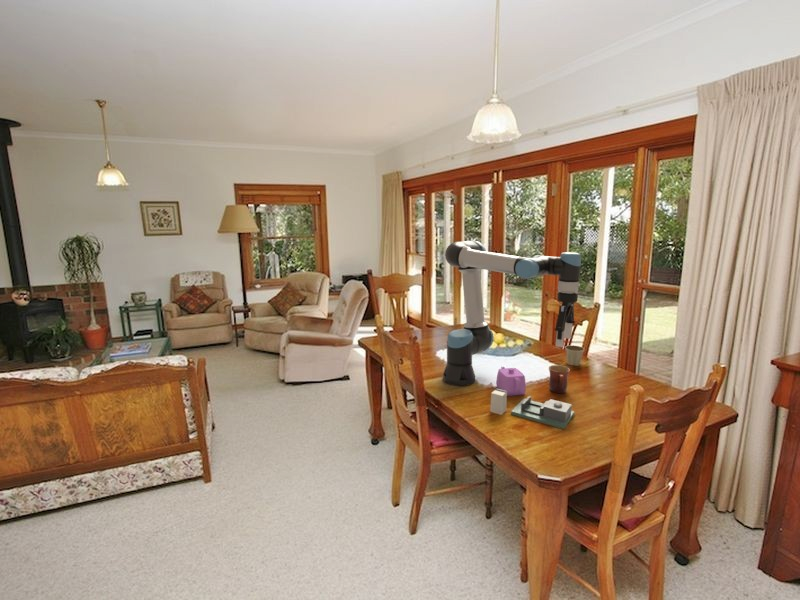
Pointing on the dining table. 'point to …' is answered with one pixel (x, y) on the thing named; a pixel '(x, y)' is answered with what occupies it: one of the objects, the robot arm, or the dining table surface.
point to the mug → (558, 378)
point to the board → (545, 412)
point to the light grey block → (498, 401)
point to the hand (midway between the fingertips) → (563, 342)
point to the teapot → (511, 381)
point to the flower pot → (574, 354)
